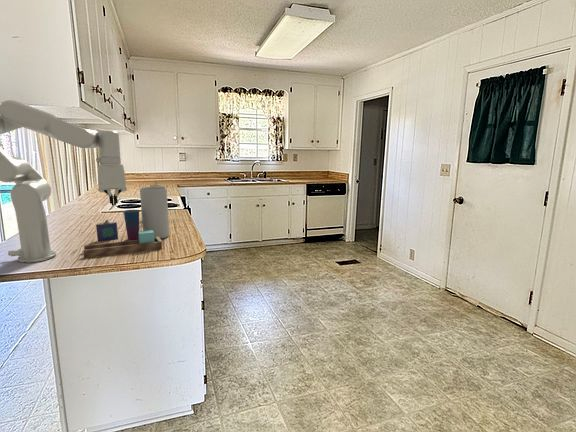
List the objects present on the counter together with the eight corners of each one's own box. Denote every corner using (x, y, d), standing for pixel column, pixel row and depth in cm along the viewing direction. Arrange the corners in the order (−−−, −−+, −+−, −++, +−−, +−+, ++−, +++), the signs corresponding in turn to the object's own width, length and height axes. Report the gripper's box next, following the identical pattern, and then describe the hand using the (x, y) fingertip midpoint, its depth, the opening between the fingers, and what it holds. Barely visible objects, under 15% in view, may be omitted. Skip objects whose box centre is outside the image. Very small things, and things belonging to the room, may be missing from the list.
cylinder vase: (167, 239, 169) (164, 189, 164) (141, 240, 166) (137, 190, 161) (170, 233, 181) (168, 186, 176) (145, 233, 178) (142, 186, 173)
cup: (125, 243, 161) (122, 212, 158) (127, 239, 167) (124, 209, 164) (140, 242, 163) (138, 211, 160) (142, 238, 169) (140, 209, 166)
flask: (117, 238, 168) (115, 217, 166) (119, 239, 166) (117, 218, 164) (97, 242, 162) (94, 220, 160) (99, 243, 160) (96, 221, 158)
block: (140, 249, 148) (139, 233, 146) (139, 246, 152) (138, 231, 151) (155, 247, 151) (154, 232, 149) (153, 244, 155) (152, 229, 153)
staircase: (160, 217, 223) (158, 178, 217) (166, 220, 214) (164, 180, 209) (148, 218, 218) (145, 179, 212) (154, 221, 209) (151, 180, 204)
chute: (84, 260, 136) (82, 250, 135) (85, 253, 145) (84, 243, 144) (162, 251, 150) (161, 241, 149) (159, 245, 159) (158, 236, 158)
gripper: (89, 161, 132) (93, 207, 135) (131, 161, 139) (133, 205, 142) (90, 160, 138) (93, 204, 142) (130, 161, 145) (132, 202, 149)
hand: (113, 205), depth 142 cm, fingers closed
